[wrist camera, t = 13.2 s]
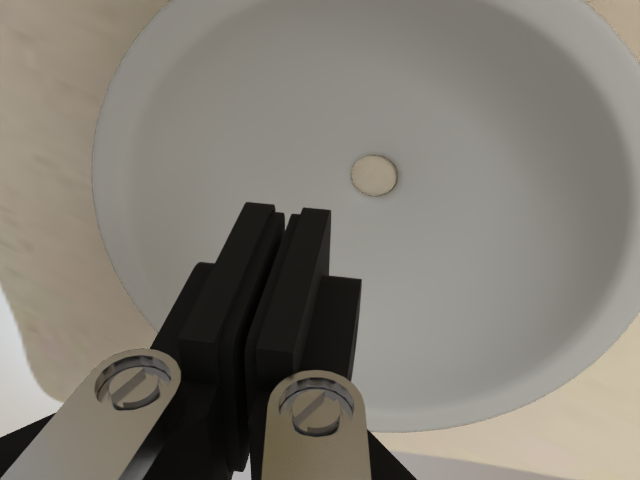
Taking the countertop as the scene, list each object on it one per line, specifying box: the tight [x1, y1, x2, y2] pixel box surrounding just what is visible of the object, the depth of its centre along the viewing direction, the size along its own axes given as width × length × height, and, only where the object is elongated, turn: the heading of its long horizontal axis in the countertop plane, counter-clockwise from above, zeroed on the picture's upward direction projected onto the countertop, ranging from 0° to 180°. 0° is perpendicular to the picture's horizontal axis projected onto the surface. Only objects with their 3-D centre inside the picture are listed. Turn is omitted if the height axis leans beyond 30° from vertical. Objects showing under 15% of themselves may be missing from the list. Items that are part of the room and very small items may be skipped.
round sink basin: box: [92, 0, 640, 433], centre depth 28 cm, size 24×24×7 cm
